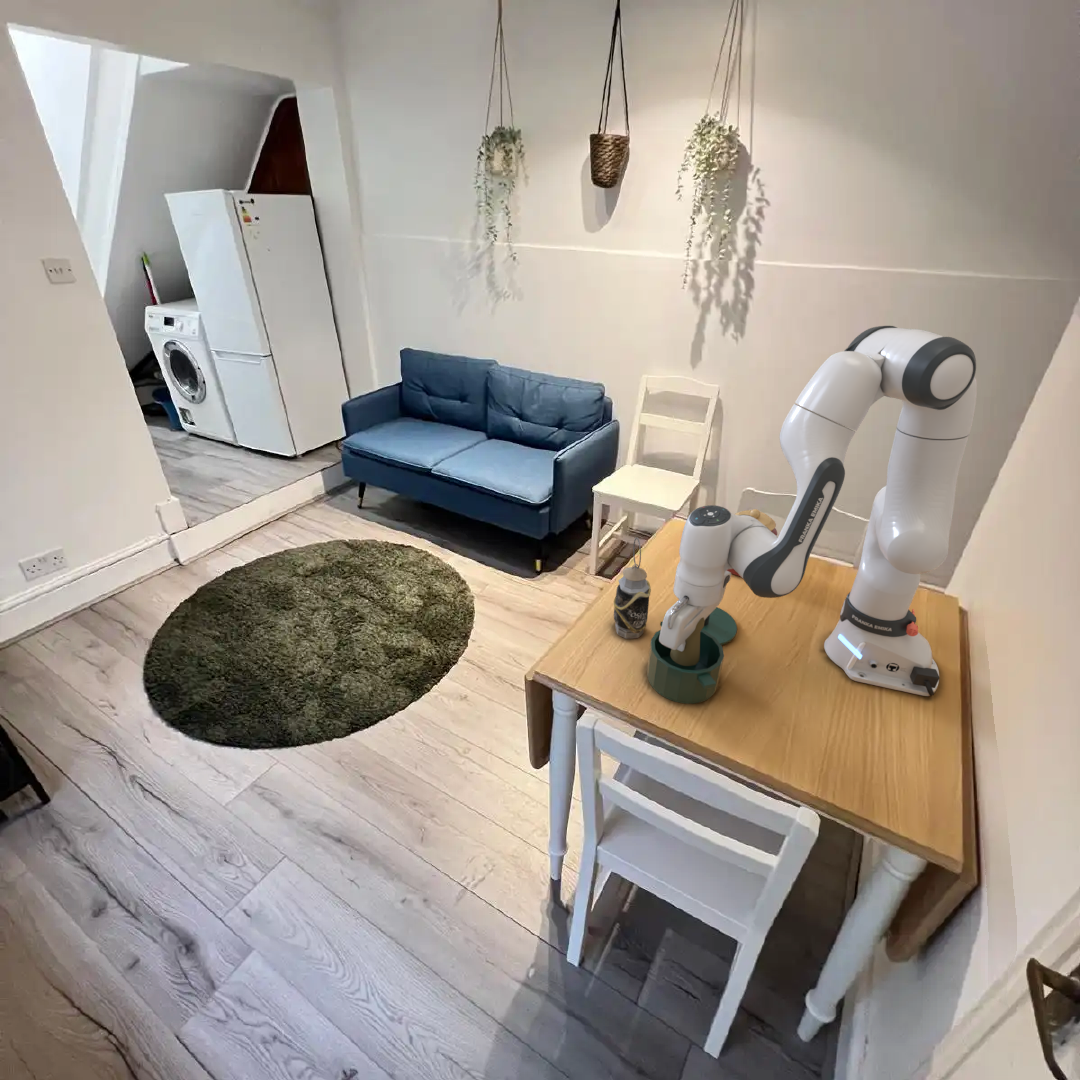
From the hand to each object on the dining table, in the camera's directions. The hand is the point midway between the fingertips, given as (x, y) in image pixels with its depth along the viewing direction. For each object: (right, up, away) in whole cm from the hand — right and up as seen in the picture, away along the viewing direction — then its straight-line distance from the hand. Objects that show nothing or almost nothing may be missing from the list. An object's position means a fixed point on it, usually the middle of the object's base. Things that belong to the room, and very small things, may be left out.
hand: (687, 640), depth 118 cm
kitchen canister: (+27, +13, +43) cm, 52 cm away
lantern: (-9, -1, +19) cm, 21 cm away
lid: (+9, 0, +20) cm, 21 cm away
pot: (0, -9, +5) cm, 10 cm away
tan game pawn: (0, -4, +2) cm, 4 cm away
